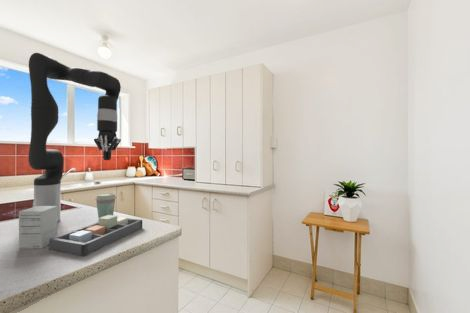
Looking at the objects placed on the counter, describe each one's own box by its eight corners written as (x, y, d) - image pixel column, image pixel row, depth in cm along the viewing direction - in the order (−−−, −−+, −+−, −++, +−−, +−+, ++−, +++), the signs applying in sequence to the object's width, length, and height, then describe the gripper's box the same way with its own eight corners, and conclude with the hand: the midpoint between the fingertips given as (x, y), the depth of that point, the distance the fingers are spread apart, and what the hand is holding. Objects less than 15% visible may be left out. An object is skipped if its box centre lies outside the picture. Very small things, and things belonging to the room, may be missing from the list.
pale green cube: (98, 227, 81) (98, 218, 81) (108, 223, 86) (108, 214, 86) (107, 228, 80) (107, 219, 80) (117, 224, 84) (117, 215, 84)
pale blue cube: (69, 245, 71) (69, 234, 71) (81, 240, 75) (82, 230, 75) (79, 247, 70) (79, 236, 70) (91, 241, 74) (91, 231, 74)
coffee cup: (106, 222, 97) (106, 196, 97) (90, 221, 99) (90, 195, 99) (120, 217, 106) (120, 193, 105) (105, 216, 107) (105, 192, 107)
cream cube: (110, 228, 87) (110, 220, 87) (119, 225, 91) (119, 216, 91) (119, 229, 85) (119, 221, 85) (127, 226, 90) (127, 217, 90)
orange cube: (84, 239, 76) (85, 229, 76) (96, 234, 80) (96, 225, 80) (94, 240, 75) (94, 230, 75) (105, 236, 79) (105, 226, 79)
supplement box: (36, 240, 77) (36, 205, 77) (58, 239, 78) (58, 205, 78) (17, 249, 70) (17, 211, 70) (41, 248, 70) (41, 211, 70)
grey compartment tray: (49, 249, 70) (49, 238, 70) (114, 224, 95) (114, 216, 95) (84, 256, 66) (84, 244, 66) (142, 228, 91) (142, 220, 91)
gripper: (87, 119, 91) (87, 159, 91) (112, 118, 87) (112, 160, 88) (102, 122, 98) (102, 159, 98) (126, 121, 95) (126, 160, 95)
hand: (107, 160), depth 93 cm, fingers closed
